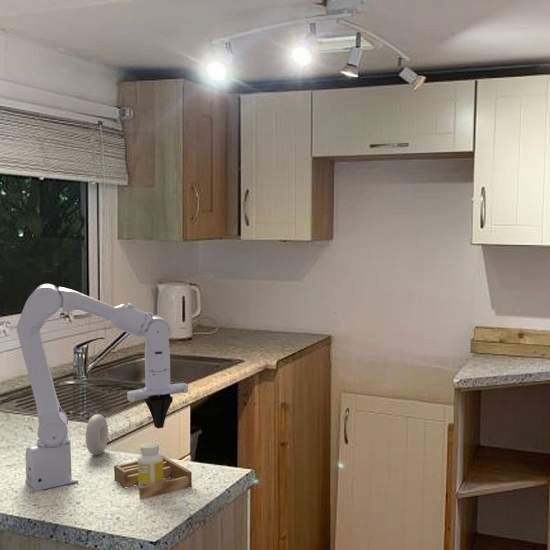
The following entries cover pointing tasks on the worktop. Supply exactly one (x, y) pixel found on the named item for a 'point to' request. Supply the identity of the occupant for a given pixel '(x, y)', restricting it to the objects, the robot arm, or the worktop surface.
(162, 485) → the wooden slatted frame
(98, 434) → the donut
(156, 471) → the supplement bottle
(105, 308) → the robot arm
